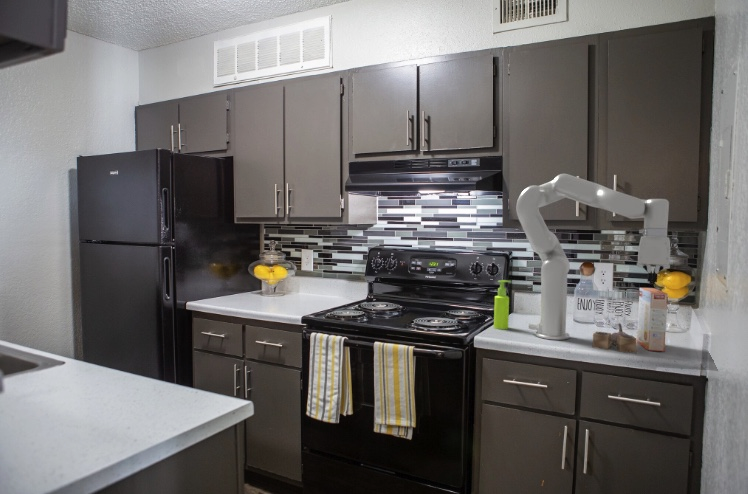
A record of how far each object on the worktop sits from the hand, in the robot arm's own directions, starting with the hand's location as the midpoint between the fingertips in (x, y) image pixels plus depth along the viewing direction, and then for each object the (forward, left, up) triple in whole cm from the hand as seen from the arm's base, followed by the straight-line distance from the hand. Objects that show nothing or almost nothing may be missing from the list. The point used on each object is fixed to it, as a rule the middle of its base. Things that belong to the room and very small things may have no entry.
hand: (652, 283), depth 194 cm
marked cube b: (-16, -9, -23) cm, 29 cm away
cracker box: (0, 0, -23) cm, 23 cm away
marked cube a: (-8, -10, -23) cm, 26 cm away
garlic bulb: (-10, -1, -23) cm, 25 cm away
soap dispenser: (-55, +7, -23) cm, 60 cm away
